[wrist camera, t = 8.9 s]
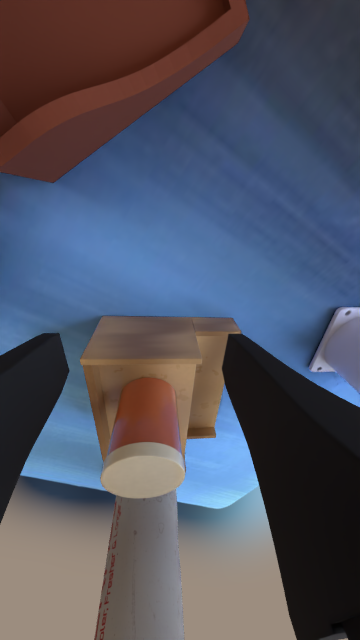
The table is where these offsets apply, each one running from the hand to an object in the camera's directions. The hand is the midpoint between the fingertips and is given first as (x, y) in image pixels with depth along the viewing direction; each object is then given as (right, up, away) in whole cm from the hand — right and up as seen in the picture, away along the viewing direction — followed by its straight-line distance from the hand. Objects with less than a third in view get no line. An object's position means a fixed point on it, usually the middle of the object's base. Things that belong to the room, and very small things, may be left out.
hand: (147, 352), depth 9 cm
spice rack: (0, -5, +14) cm, 14 cm away
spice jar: (-1, -5, +8) cm, 10 cm away
